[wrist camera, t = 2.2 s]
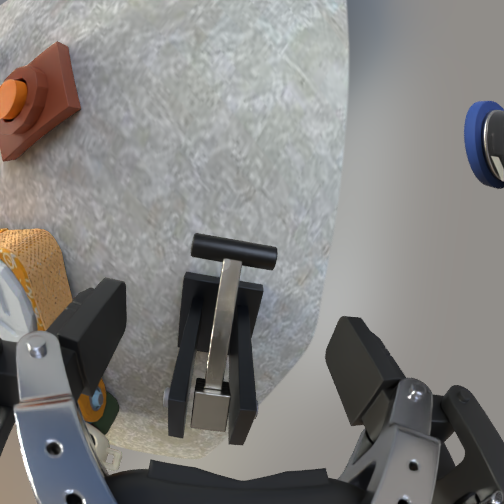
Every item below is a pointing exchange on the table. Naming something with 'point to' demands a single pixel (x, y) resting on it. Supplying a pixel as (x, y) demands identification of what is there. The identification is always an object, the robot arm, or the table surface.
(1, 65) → the table surface
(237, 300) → the bracket
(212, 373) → the lever
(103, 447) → the character mug
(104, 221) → the table surface
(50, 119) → the block
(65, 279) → the device
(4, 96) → the button
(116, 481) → the robot arm
